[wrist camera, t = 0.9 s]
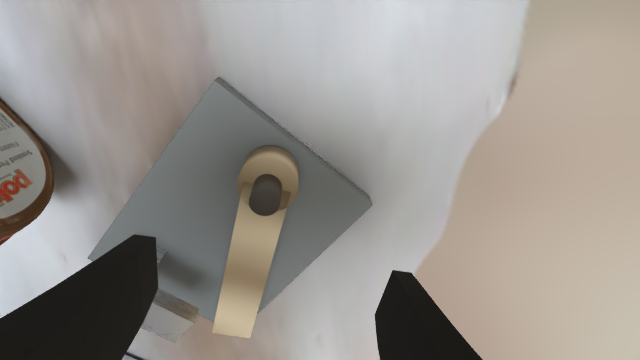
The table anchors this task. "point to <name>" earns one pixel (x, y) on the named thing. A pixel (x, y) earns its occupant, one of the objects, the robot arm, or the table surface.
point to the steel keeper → (169, 312)
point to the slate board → (229, 201)
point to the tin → (21, 175)
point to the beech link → (255, 236)
